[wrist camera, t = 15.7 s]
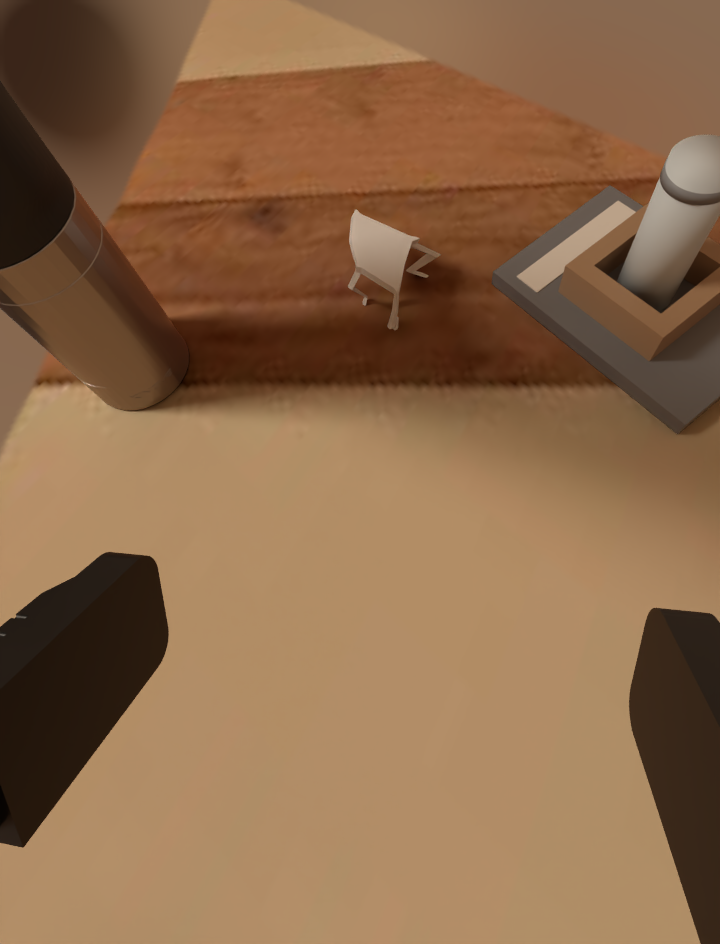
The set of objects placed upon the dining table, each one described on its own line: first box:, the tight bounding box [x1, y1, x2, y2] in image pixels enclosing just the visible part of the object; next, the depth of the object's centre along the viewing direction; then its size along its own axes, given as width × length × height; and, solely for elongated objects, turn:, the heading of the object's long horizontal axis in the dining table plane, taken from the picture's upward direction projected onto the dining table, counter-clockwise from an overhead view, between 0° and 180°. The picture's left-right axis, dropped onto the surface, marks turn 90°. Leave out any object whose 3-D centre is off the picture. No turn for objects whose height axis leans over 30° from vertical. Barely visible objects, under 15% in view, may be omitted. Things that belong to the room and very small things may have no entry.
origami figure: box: [348, 209, 441, 330], centre depth 49 cm, size 12×8×5 cm
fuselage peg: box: [617, 135, 720, 312], centre depth 39 cm, size 4×4×12 cm
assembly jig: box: [492, 186, 720, 434], centre depth 44 cm, size 20×14×4 cm
